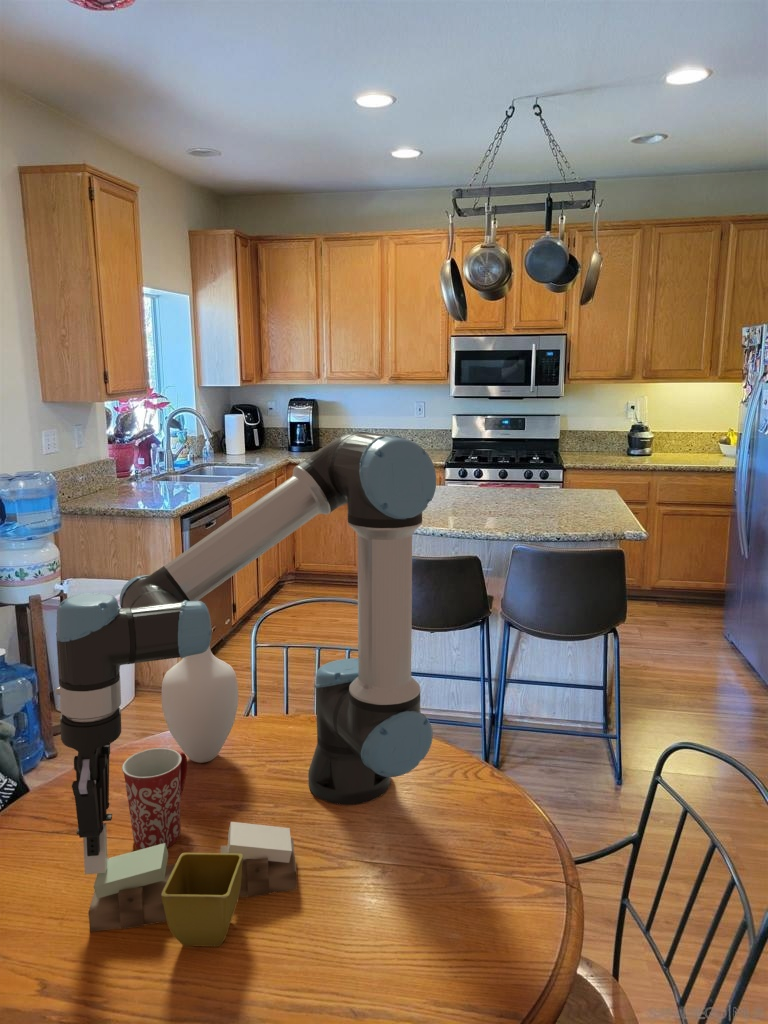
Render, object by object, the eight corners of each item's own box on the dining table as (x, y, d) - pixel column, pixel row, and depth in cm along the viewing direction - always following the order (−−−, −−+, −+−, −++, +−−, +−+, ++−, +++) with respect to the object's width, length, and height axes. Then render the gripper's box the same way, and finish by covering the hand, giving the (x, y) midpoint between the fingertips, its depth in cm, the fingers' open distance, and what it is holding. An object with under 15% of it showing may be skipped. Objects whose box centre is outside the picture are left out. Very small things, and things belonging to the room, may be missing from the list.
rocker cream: (286, 839, 112) (289, 828, 111) (289, 862, 106) (291, 851, 106) (228, 833, 110) (230, 821, 109) (227, 856, 104) (230, 844, 104)
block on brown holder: (293, 854, 114) (292, 824, 113) (297, 890, 106) (296, 858, 105) (221, 862, 112) (220, 832, 111) (219, 900, 104) (218, 868, 103)
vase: (172, 742, 149) (164, 611, 144) (243, 738, 151) (238, 608, 146) (159, 780, 135) (149, 636, 130) (237, 775, 137) (231, 633, 131)
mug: (162, 861, 112) (156, 781, 110) (115, 848, 116) (109, 770, 113) (210, 816, 124) (206, 743, 121) (166, 805, 127) (162, 733, 125)
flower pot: (184, 908, 102) (181, 851, 101) (246, 909, 102) (243, 852, 100) (164, 957, 94) (159, 895, 92) (231, 959, 93) (228, 897, 92)
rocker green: (168, 854, 105) (165, 842, 105) (164, 880, 100) (160, 868, 100) (104, 871, 104) (101, 860, 104) (97, 898, 99) (93, 886, 98)
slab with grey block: (179, 880, 108) (177, 849, 107) (174, 921, 100) (172, 888, 99) (101, 890, 106) (99, 858, 105) (89, 933, 98) (86, 898, 97)
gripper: (72, 691, 102) (78, 843, 106) (47, 735, 90) (55, 905, 94) (128, 688, 104) (131, 838, 108) (111, 731, 91) (116, 900, 95)
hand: (96, 869), depth 101 cm, fingers closed
